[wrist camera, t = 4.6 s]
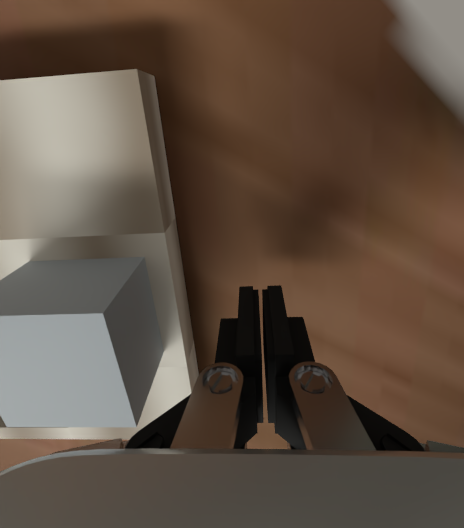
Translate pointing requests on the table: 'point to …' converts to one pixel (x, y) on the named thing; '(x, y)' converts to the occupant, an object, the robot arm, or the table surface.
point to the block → (77, 343)
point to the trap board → (95, 206)
